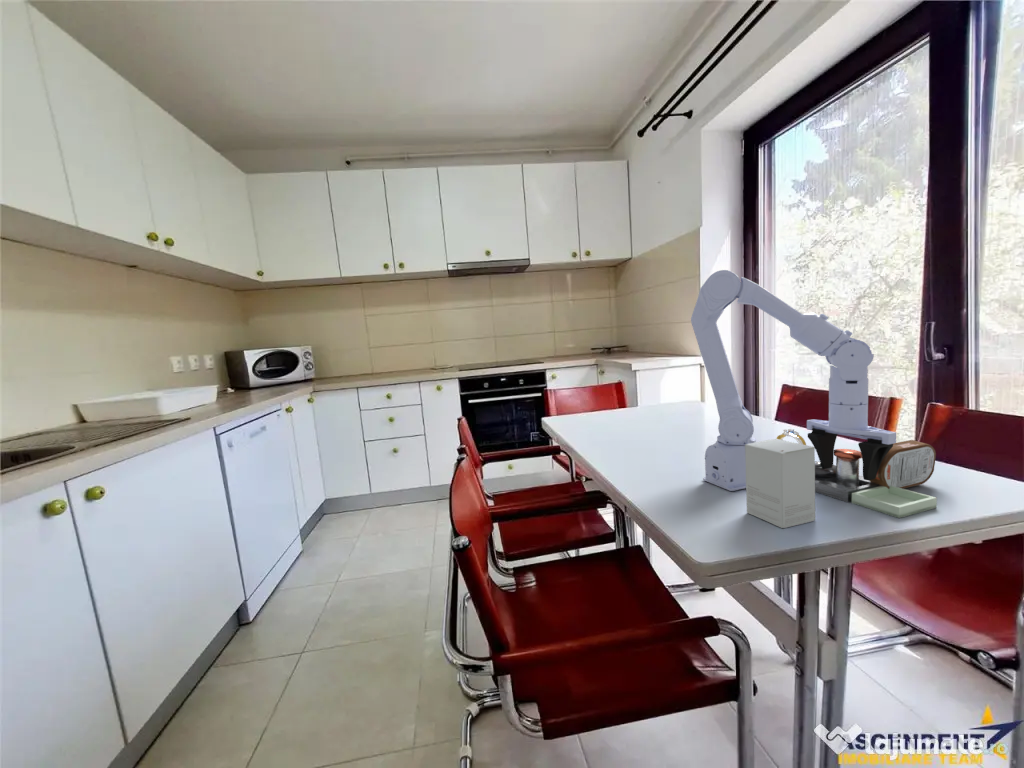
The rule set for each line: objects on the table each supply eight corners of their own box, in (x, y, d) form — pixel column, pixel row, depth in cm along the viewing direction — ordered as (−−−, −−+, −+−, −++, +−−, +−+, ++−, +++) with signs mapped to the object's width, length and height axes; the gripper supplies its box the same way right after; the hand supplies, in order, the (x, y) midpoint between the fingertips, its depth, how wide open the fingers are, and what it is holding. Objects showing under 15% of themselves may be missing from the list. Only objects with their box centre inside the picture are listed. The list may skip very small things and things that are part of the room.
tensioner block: (847, 502, 75) (847, 479, 74) (786, 482, 86) (786, 462, 86) (886, 492, 78) (886, 471, 77) (821, 474, 89) (821, 455, 89)
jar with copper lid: (851, 497, 77) (851, 456, 76) (827, 489, 81) (828, 450, 80) (867, 493, 78) (867, 452, 77) (843, 486, 82) (844, 447, 81)
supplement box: (817, 521, 69) (817, 446, 67) (782, 529, 67) (781, 453, 65) (777, 505, 76) (776, 437, 74) (744, 512, 74) (743, 443, 72)
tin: (919, 477, 82) (920, 436, 81) (939, 482, 79) (940, 439, 78) (865, 490, 78) (865, 446, 77) (884, 496, 75) (885, 450, 74)
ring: (773, 459, 101) (772, 427, 100) (784, 458, 102) (784, 426, 101) (797, 467, 94) (797, 433, 93) (809, 466, 95) (809, 431, 94)
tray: (899, 518, 68) (899, 507, 67) (851, 502, 74) (851, 493, 74) (936, 507, 70) (936, 497, 70) (887, 493, 77) (887, 484, 77)
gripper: (909, 405, 72) (907, 480, 73) (824, 396, 86) (824, 460, 87) (880, 409, 70) (879, 487, 71) (798, 400, 84) (799, 465, 85)
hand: (847, 473), depth 79 cm, fingers open, 7 cm apart
